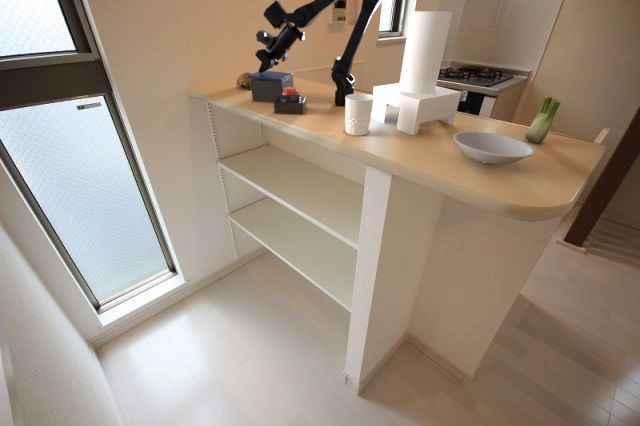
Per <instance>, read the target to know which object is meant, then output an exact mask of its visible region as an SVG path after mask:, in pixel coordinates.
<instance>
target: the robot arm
mask: <svg viewBox="0 0 640 426" xmlns="http://www.w3.org/2000/svg"><path fill="white" fill-rule="evenodd" d="M338 1H339V0H313V1H310V2H308V3H305V4H304V5H301V6H299V7H297V8H296V9H294V11H293V12H287V11H286V9H285V8H284V7H283V6H282V4H281V3H280V1H279V0H274V1H273V3H271V4H270V5H269V6H268V7H266V8H265V10H264V12H263V14H262V15H263V17H264V18H265V19H266V21H267V22H268V23H269V24H270V25H271V26H272V28H273V29H274V30H279V31H280V32H278V34H277V36H274V35H273V34H271V33H269V32H267V31H266V30H263V29H260V30H258V31H257V32H256V33H255V37H256V38H255V40H256V41H257V42H258V43H261V44H263V45H264V46H265V48H260V49H258V50H257V51H256V52H255V53H254V55H255V57H256V58H257V59H258V60H259V61H260V65H259V68H258V71H259V73H262V72H264V71H269V70H270V69H272V68H275V67H276V66H278V65H280V62H279V61H281V62H282V63H284V62H286V61H287V60H288V59H289V54H288V53H287V52H289V51H291V48H292V46H294V44H295V42H296V41H297V40H299V41H300V42H303V41H305V40H306V39H305V31H301V30H300V29H305V28H309V27H310V26H311V25H312V24H313V23H314V22H315V21H316V20H317V19H318V17H319V16H320V15H321V14H322V13H323V12H324V11H325V10H327V9H328V8H329V7H331V6H333V5H334V4H335V3H337V2H338ZM382 2H383V0H362V3H361V8H360V12H359V14H358V16H357V20H356V21H355V24H354V27H353V29H352V30H351V34H350V36H349V38H348V41H347V44H346V46H345V47H344V48H345V49H344V51H343V54H342V55H341V56H338V57H336V58H335V59H334V61H333V66H332V68H331V69H330V71H331V75H330V77H331V80H332V82H333V83H335V87H336V89H335V91H334V104H335V106H336V107H345V97H346V96H347V95H350V94H355V93H354V92H355V86H354V85H355V83H356V79H355V77H354V76H353V74H351V72H352V68H353V62H354V58H355V56H356V53H357V51H358V49H359V47H360V44H361V42H362V39H363V37H364V35H365V32H366V30H367V28H368V26H369V23H370V21H371V19H372V16H373V15H374V13H375V12H376V10H377V9H378V8H379V5H381V3H382Z"/></svg>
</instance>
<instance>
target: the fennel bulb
mask: <svg viewBox="0 0 640 426" xmlns="http://www.w3.org/2000/svg"><path fill="white" fill-rule="evenodd" d="M560 105H561V101H559V100H558V99H556V98H553V96H548V95H547V96H545V97H544V99H543V101H542V104H541V106H540V109H539V111H538V113H537V114H536V116H535V117H534V120H533V121H532V123H531V125H530V126H529V128H528V129H527V130H526V131H525V136H524V137H525V140H527V141H528V142H530V143H536V144H540V143H543V141H544V140H545V139H546V138H547V136H548V133H549V130H550V128H551V125H552V123H553V120H554V117H555V116H556V113H557V112H558V111H557V110H558V108H559V107H560Z"/></svg>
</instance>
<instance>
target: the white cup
mask: <svg viewBox="0 0 640 426" xmlns="http://www.w3.org/2000/svg"><path fill="white" fill-rule="evenodd" d="M373 99H374V98H373V95H370V94H367V93H354V94H350V95H347V96H346V97H345V106H344V123H345V125H344V126H345V127H344V130H345V133H346V134H348V135H351V136H357V137H358V136H364V135H367V134H368V133H369V127H370V124H371V119H370V118H371V112H372V106H373Z"/></svg>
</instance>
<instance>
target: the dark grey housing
mask: <svg viewBox="0 0 640 426" xmlns="http://www.w3.org/2000/svg"><path fill="white" fill-rule="evenodd" d="M250 82H251V89H250V90H251V99H252V102H260V103H269V104H274V101H275V100H276V99H277V97H278V96H280V93H281V92H284V88H285V87H294V75H293V76H291V77H289V78H288V79H286V80H284V81H282V82H279V81H270V80H261V79H251V80H250Z"/></svg>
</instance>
